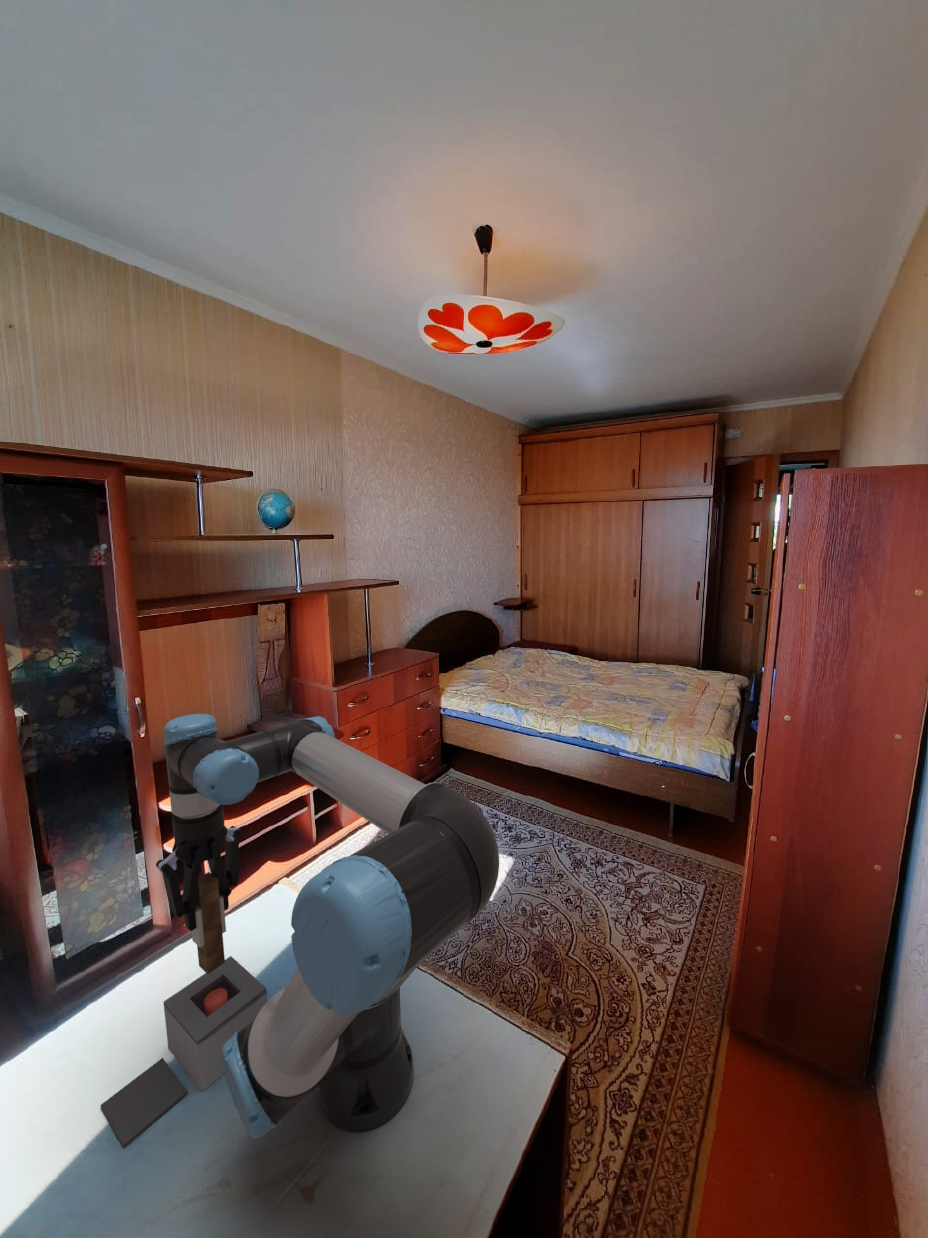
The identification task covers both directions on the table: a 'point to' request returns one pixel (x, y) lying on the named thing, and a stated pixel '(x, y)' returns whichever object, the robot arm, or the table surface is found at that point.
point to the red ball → (215, 1000)
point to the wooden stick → (210, 923)
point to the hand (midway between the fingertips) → (209, 935)
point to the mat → (143, 1101)
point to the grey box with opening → (211, 1019)
